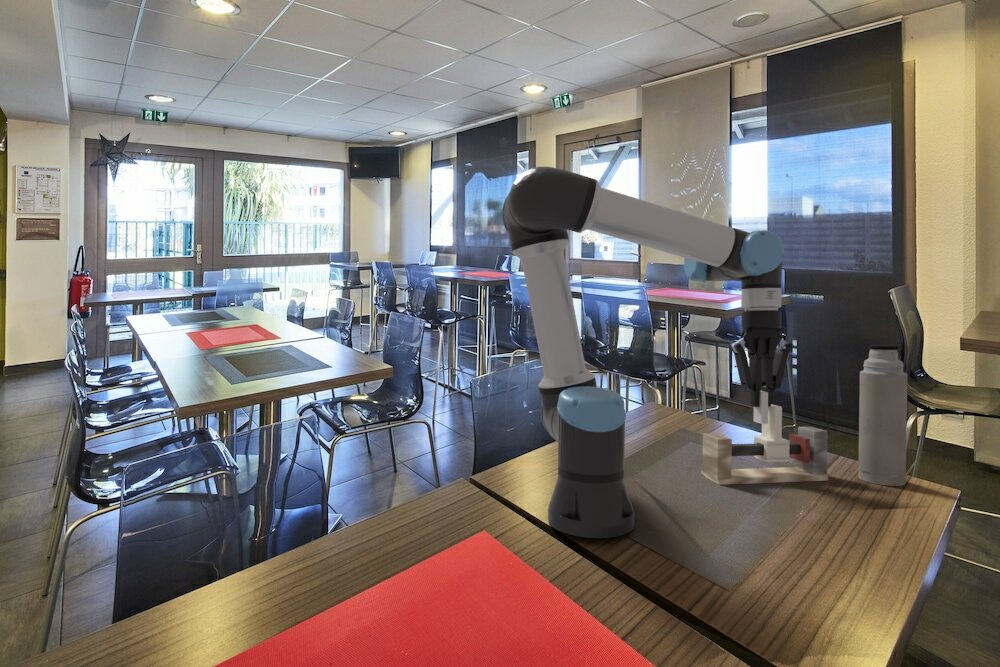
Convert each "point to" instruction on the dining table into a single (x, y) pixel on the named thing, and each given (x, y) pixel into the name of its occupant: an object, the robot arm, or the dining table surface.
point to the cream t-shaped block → (773, 438)
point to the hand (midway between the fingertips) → (760, 422)
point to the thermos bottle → (883, 418)
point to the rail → (745, 476)
